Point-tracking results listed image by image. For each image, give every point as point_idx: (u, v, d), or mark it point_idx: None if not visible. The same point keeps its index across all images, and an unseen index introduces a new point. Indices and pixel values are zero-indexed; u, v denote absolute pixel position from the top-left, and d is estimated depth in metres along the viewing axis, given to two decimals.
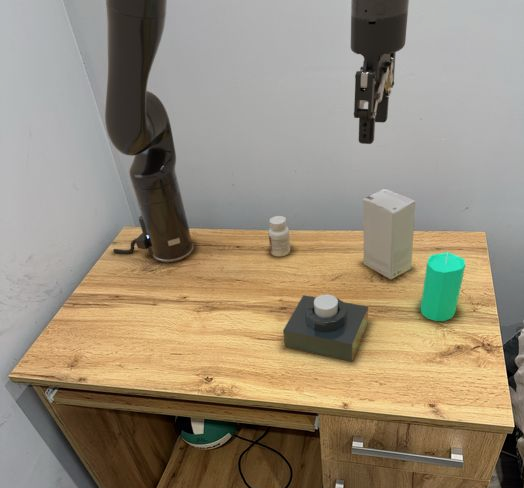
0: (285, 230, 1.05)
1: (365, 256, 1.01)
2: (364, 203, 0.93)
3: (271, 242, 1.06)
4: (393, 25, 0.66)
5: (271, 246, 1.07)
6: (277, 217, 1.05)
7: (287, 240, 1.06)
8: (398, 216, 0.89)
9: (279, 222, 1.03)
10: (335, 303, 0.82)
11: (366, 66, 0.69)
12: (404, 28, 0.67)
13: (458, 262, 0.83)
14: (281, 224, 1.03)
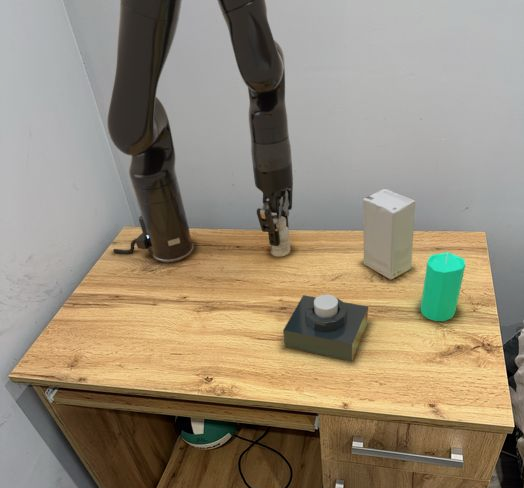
0: (285, 230, 1.05)
1: (365, 256, 1.01)
2: (364, 204, 0.93)
3: None
4: (279, 174, 0.93)
5: (271, 246, 1.07)
6: None
7: (287, 240, 1.06)
8: (398, 216, 0.89)
9: (279, 222, 1.03)
10: (335, 303, 0.82)
11: (264, 200, 0.97)
12: (289, 174, 0.95)
13: (458, 262, 0.83)
14: (281, 224, 1.03)
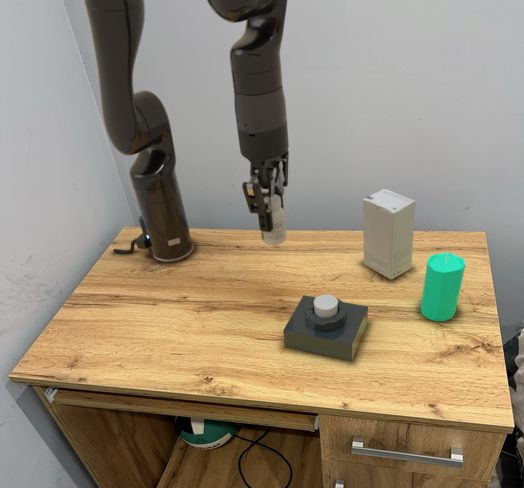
0: (280, 212, 0.83)
1: (365, 256, 1.01)
2: (364, 204, 0.93)
3: None
4: (271, 137, 0.72)
5: (262, 232, 0.86)
6: None
7: (282, 225, 0.85)
8: (398, 216, 0.89)
9: (273, 202, 0.82)
10: (335, 303, 0.82)
11: (252, 172, 0.76)
12: (284, 137, 0.74)
13: (458, 262, 0.83)
14: (275, 204, 0.82)
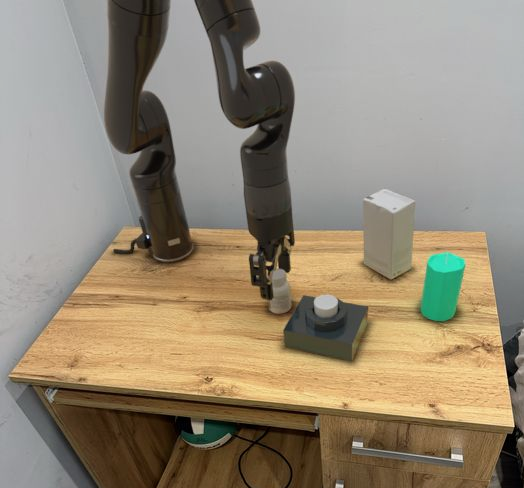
0: (285, 285, 0.91)
1: (365, 256, 1.01)
2: (364, 204, 0.93)
3: None
4: (277, 221, 0.79)
5: (269, 302, 0.93)
6: (276, 270, 0.91)
7: (288, 296, 0.92)
8: (398, 216, 0.89)
9: (279, 277, 0.89)
10: (335, 303, 0.82)
11: (259, 247, 0.82)
12: (288, 220, 0.80)
13: (458, 262, 0.83)
14: (281, 279, 0.89)
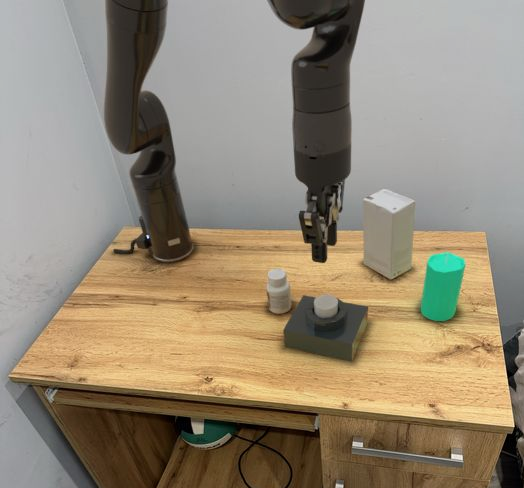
0: (285, 285, 0.91)
1: (365, 256, 1.01)
2: (364, 204, 0.93)
3: (269, 298, 0.92)
4: (335, 160, 0.63)
5: (269, 302, 0.93)
6: (276, 270, 0.91)
7: (288, 296, 0.92)
8: (398, 216, 0.89)
9: (279, 277, 0.89)
10: (335, 303, 0.82)
11: (310, 198, 0.67)
12: (348, 160, 0.64)
13: (458, 262, 0.83)
14: (281, 279, 0.89)
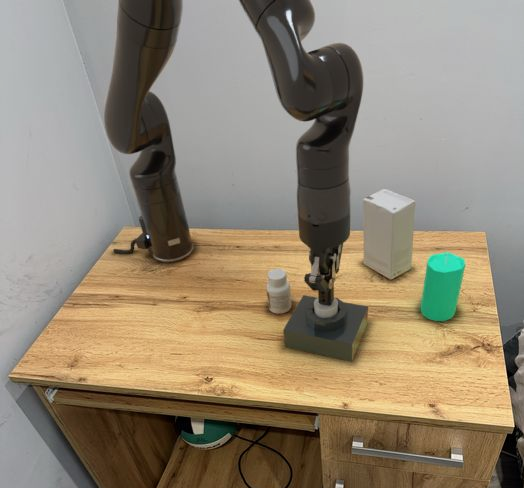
0: (285, 285, 0.91)
1: (365, 256, 1.01)
2: (364, 204, 0.93)
3: (269, 298, 0.92)
4: (335, 227, 0.70)
5: (269, 302, 0.93)
6: (276, 270, 0.91)
7: (288, 296, 0.92)
8: (398, 216, 0.89)
9: (279, 277, 0.89)
10: (335, 304, 0.83)
11: (312, 261, 0.73)
12: (347, 226, 0.71)
13: (458, 262, 0.83)
14: (281, 279, 0.89)
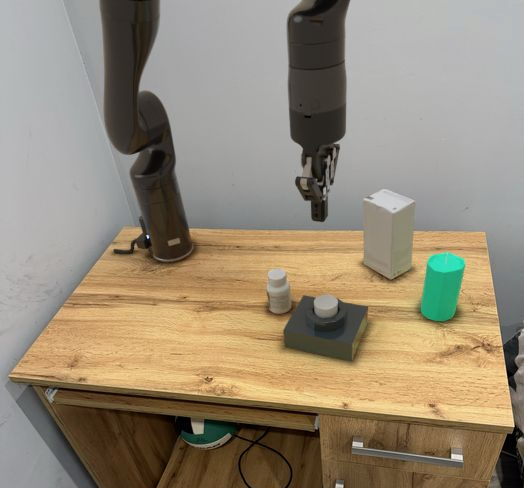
0: (285, 285, 0.91)
1: (365, 256, 1.01)
2: (364, 204, 0.93)
3: (269, 298, 0.92)
4: (329, 119, 0.63)
5: (269, 302, 0.93)
6: (276, 270, 0.91)
7: (288, 296, 0.92)
8: (398, 216, 0.89)
9: (279, 277, 0.89)
10: (335, 303, 0.82)
11: (304, 162, 0.67)
12: (342, 120, 0.65)
13: (458, 262, 0.83)
14: (281, 279, 0.89)
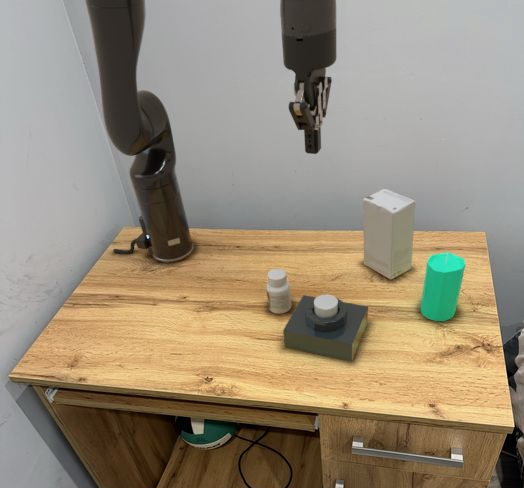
0: (285, 285, 0.91)
1: (365, 256, 1.01)
2: (364, 204, 0.93)
3: (269, 298, 0.92)
4: (320, 42, 0.66)
5: (269, 302, 0.93)
6: (276, 270, 0.91)
7: (288, 296, 0.92)
8: (398, 216, 0.89)
9: (279, 277, 0.89)
10: (335, 303, 0.82)
11: (297, 88, 0.70)
12: (333, 44, 0.68)
13: (458, 262, 0.83)
14: (281, 279, 0.89)
